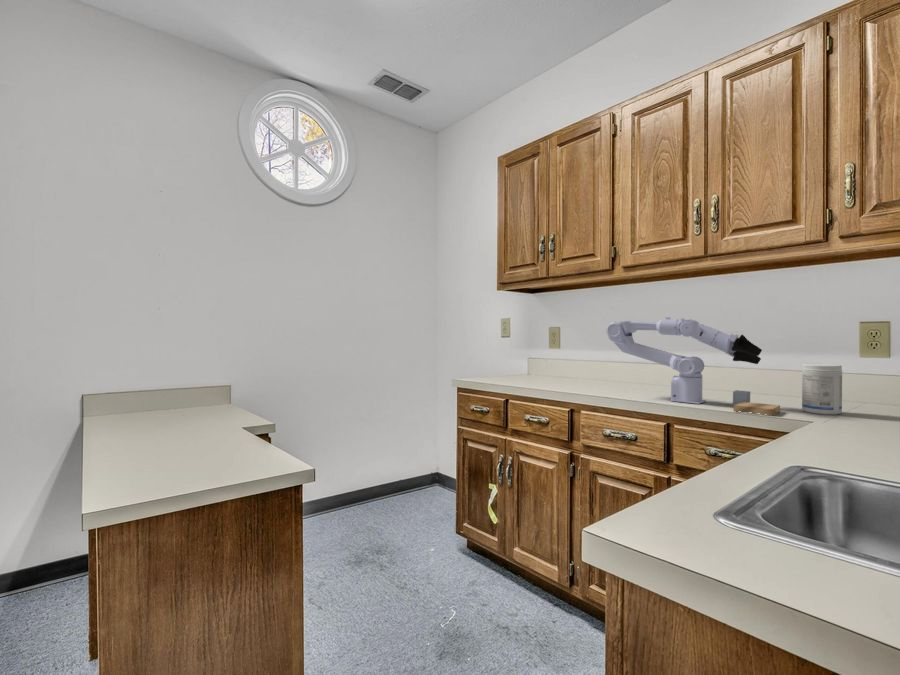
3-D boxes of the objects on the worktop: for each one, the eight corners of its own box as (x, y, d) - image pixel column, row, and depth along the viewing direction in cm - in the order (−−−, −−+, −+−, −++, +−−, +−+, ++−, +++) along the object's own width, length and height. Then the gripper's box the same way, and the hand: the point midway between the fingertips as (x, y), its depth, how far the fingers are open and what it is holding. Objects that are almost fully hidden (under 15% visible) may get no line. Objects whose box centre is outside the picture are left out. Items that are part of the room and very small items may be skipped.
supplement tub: (817, 409, 146) (818, 363, 146) (850, 414, 137) (851, 365, 137) (793, 410, 144) (794, 363, 144) (825, 416, 135) (826, 365, 135)
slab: (733, 411, 142) (733, 405, 142) (742, 407, 149) (742, 401, 149) (772, 416, 135) (772, 409, 135) (780, 411, 142) (780, 405, 142)
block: (732, 406, 152) (733, 391, 151) (736, 405, 154) (736, 390, 154) (746, 408, 149) (747, 392, 149) (750, 406, 152) (750, 391, 151)
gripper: (722, 320, 150) (767, 338, 141) (723, 337, 161) (765, 355, 153) (710, 338, 149) (755, 357, 141) (712, 354, 161) (753, 372, 152)
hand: (759, 357), depth 147 cm, fingers open, 7 cm apart
